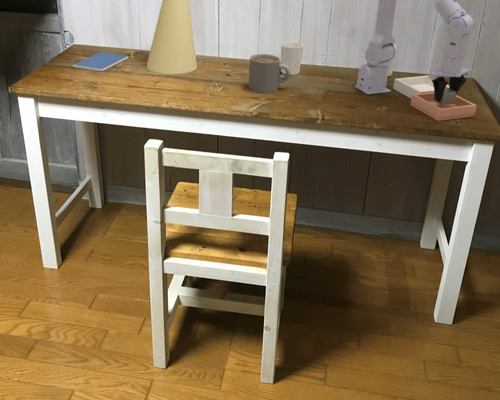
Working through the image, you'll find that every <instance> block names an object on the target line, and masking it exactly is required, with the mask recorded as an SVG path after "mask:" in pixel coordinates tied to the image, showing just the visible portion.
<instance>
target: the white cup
mask: <svg viewBox="0 0 500 400" xmlns="http://www.w3.org/2000/svg"><path fill="white" fill-rule="evenodd" d="M303 51H304V44H302V43H300V42H295V41H284V42H282V43H281V44H280V64H284V65H287V66H288V67H289V69H290V76H295V75H299V73H300V71H301V66H302V65H301V63H302V57H303ZM280 72H281V73H282V74H284V75H286V71H285V69H281V70H280ZM281 73H280V74H281Z"/></svg>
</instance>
